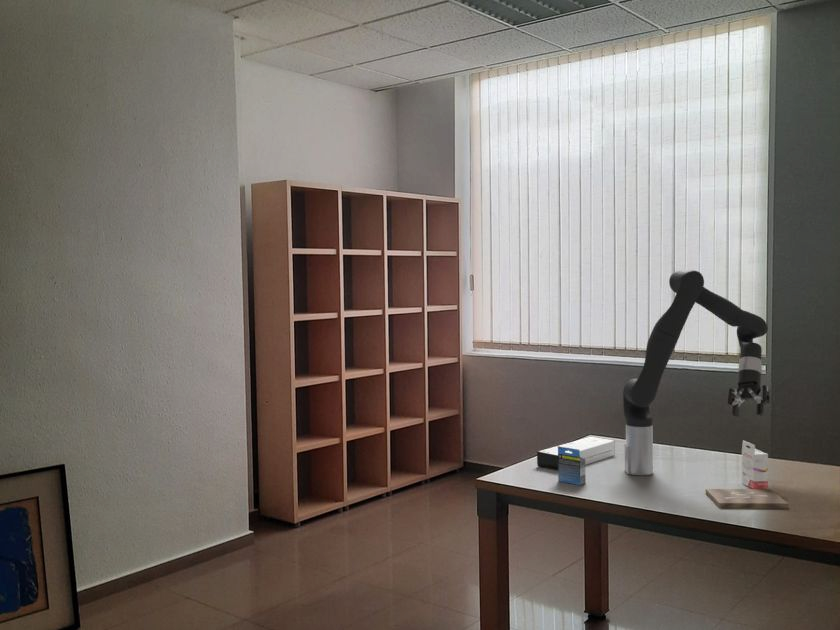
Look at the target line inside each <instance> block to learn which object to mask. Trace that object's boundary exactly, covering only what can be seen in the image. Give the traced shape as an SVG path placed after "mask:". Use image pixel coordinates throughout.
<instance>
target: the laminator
mask: <svg viewBox="0 0 840 630" xmlns="http://www.w3.org/2000/svg"><path fill="white" fill-rule="evenodd" d="M558 446H560V447H566V448H572V449H578V450H579V452H580V457H581V458H583V459H585V466H587V465H589V464H591V463H595V462H599V461H601V460H604V459H607V458H609V457H610V458H611V457H614V455H615V450H616V449H615V447H616V446H615V440H613V439H607V438H600V437H596V436H589V437H585V438H581V439H577V440H575V441H571V442H567V443H563V444H559V445H557V446H553V447H548V448H546V449H541V450H538V451H537V452H536V461H537V462H536V464H537V467H539V468H543V469H549V470H552V469H553V471H558ZM565 452H566V453H572V452H570V451H569V450H568V451H565Z"/></svg>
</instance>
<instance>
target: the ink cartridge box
mask: <svg viewBox="0 0 840 630" xmlns="http://www.w3.org/2000/svg"><path fill="white" fill-rule="evenodd" d="M741 446H742V447H741V484H743V485H744V486H746V487H748V488H749V489H769V478H768V477H769V454H768V453H766V452H763V451H762V450H760V449H757V448H756V445H755V444H753V443H751V442H748V441H746V440H744V439H743V440H742V444H741ZM747 446H748V447H747Z"/></svg>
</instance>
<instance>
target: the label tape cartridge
mask: <svg viewBox="0 0 840 630" xmlns="http://www.w3.org/2000/svg"><path fill="white" fill-rule="evenodd" d="M557 446H558V472H557V475H558V479H557V480H558V482H559V481H561V482H560V483H565V482H566V483H565V484H570V483H571V484H572V485H577V486H583V485H585V484H586V480H587V479H586V465H585V459H583V458H581V457H580V452H579V450H578V449H572V448H566V447H560V446H559V445H557ZM568 450H569V451H570V452H572V453H566V452H565V451H568ZM582 484H583V485H582Z"/></svg>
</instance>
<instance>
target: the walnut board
mask: <svg viewBox="0 0 840 630" xmlns="http://www.w3.org/2000/svg"><path fill="white" fill-rule="evenodd" d="M705 495H706V496H707V497H708V498H710V500H711V501H712V502H713V503H714V504H715V506H716V507H718V509H789V502H787V501H786V500H784V498H782V497H781V496H780V495H778V494H777V493H776V492H775V491H773V490H772V489H769V488H768V489H752V488H706V489H705Z"/></svg>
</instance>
